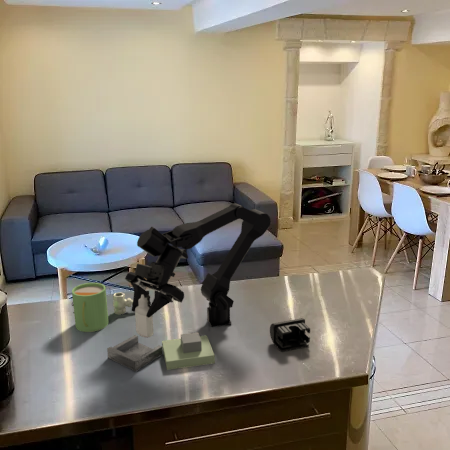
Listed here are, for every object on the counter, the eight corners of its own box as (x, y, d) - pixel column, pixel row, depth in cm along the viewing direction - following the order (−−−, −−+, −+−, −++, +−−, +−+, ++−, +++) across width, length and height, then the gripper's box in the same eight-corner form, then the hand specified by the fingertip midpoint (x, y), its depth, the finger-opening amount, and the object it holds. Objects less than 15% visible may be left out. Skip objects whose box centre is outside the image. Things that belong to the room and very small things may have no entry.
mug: (80, 316, 160) (76, 282, 156) (112, 316, 159) (109, 282, 156) (67, 335, 147) (62, 299, 144) (101, 336, 147) (98, 299, 144)
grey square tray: (135, 342, 143) (134, 333, 143) (162, 354, 137) (162, 344, 136) (108, 358, 136) (107, 348, 135) (135, 371, 129) (134, 361, 128)
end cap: (299, 334, 147) (300, 314, 145) (310, 346, 141) (312, 325, 139) (269, 340, 144) (269, 320, 142) (279, 352, 138) (280, 331, 136)
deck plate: (206, 342, 143) (206, 326, 141) (214, 363, 133) (214, 345, 131) (162, 348, 140) (161, 331, 138) (166, 369, 130) (166, 351, 128)
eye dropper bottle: (138, 339, 135) (136, 300, 131) (135, 330, 140) (133, 292, 136) (154, 337, 136) (152, 298, 133) (150, 327, 141) (148, 289, 138)
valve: (114, 318, 159) (151, 313, 162) (113, 299, 157) (150, 294, 160) (113, 309, 165) (148, 304, 168) (111, 291, 163) (147, 286, 166)
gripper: (127, 245, 140) (99, 294, 134) (175, 258, 129) (147, 312, 124) (148, 262, 148) (123, 309, 143) (195, 276, 137) (170, 327, 132)
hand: (140, 314), depth 135 cm, fingers closed on eye dropper bottle, 5 cm apart
